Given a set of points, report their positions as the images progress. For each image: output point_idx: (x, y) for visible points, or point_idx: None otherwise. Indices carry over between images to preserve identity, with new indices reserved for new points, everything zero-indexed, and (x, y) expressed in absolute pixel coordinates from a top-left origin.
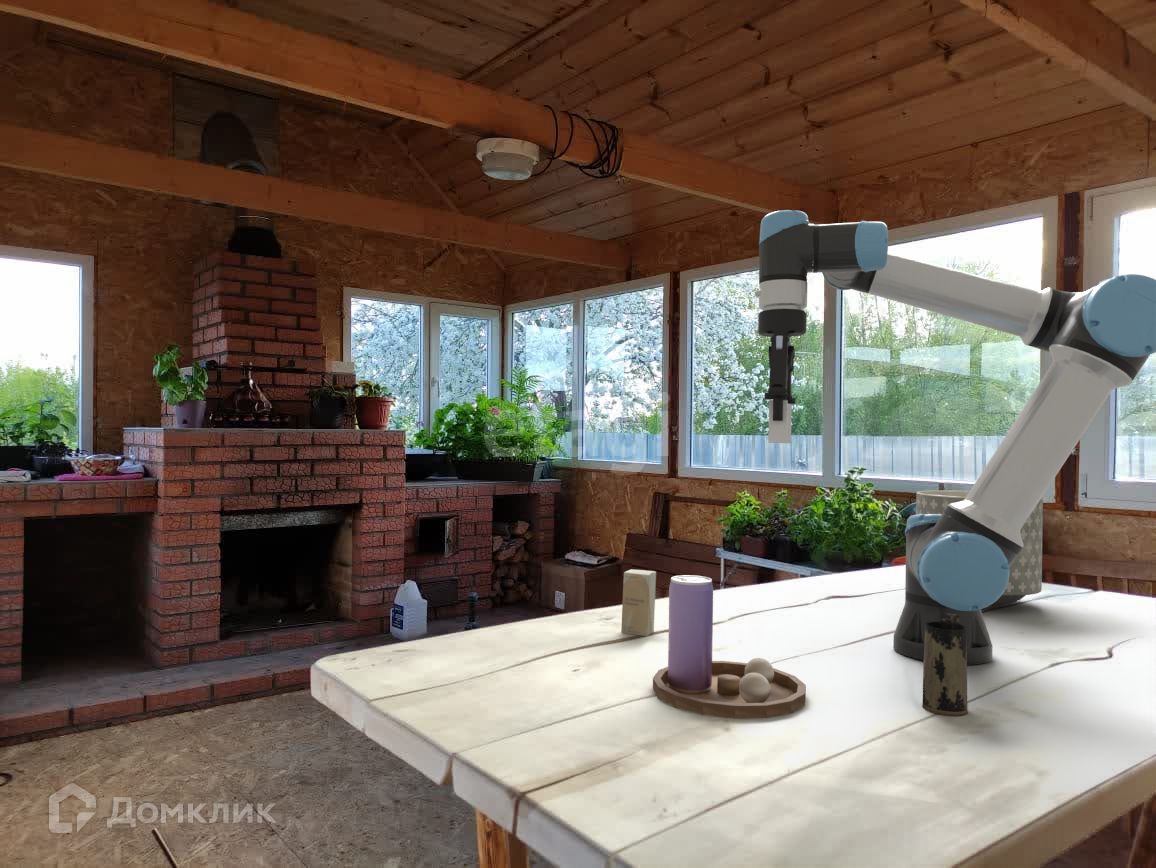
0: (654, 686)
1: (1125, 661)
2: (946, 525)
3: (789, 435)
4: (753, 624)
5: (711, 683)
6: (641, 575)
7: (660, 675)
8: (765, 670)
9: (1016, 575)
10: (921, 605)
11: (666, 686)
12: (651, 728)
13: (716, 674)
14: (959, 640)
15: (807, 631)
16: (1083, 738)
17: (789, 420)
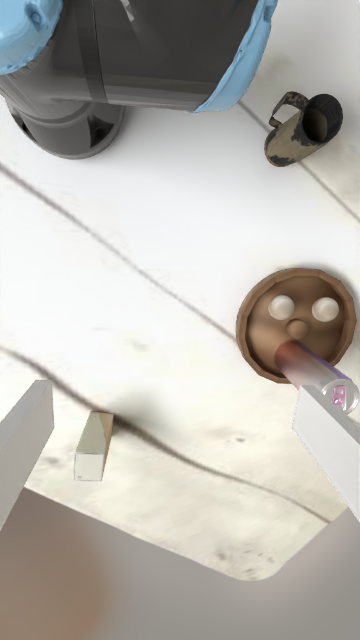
0: None
1: None
2: (224, 7)
3: (43, 397)
4: (10, 319)
5: (294, 341)
6: (103, 461)
7: None
8: (293, 303)
9: None
10: (89, 107)
11: None
12: (357, 366)
13: (248, 340)
14: (335, 112)
15: (19, 257)
16: (338, 33)
17: (20, 432)
